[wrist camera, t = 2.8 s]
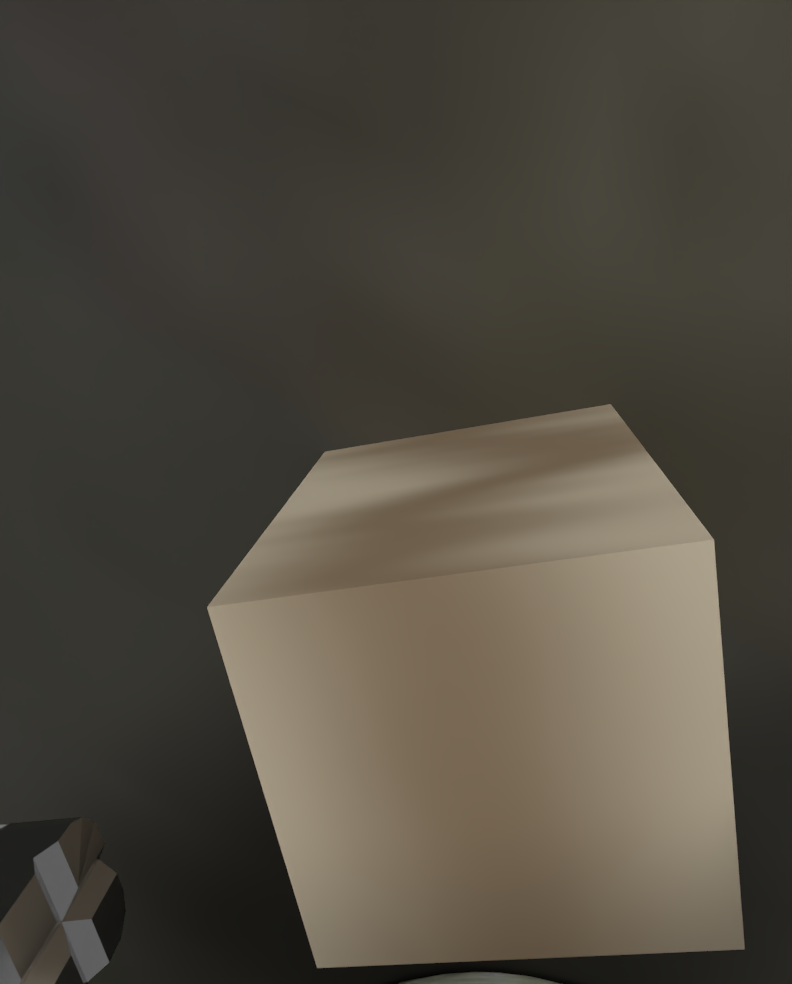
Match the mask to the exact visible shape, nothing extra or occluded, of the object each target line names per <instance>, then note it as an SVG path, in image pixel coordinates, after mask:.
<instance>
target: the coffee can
mask: <svg viewBox="0 0 792 984" xmlns="http://www.w3.org/2000/svg"><path fill="white" fill-rule="evenodd" d="M399 984H561V983H557V982H553V981H549V980H544V979H540V978H535V977H530V976H525V975H515V974H507V973H500V972H466V973H448V974H441V975H436V976H430V977H425V978H418V979H412V980H407V981H404V982H401V983H399Z"/></svg>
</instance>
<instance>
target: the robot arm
mask: <svg viewBox="0 0 792 984" xmlns="http://www.w3.org/2000/svg"><path fill="white" fill-rule="evenodd" d="M104 845H105V843H104V840H103V838H102V836H101V834H100V832H99V830H98V827H97V825H96V823H95V821H92V820H89V819H86V818H83V817H77V818H66V819H55V820H43V821H32V822H21V823H10V824H8V825H0V984H88V983H87V982H88V981H89V980H90V979H91V978H92V977H94V976H95V975H96V974H97V973H98V972H99V971H100V970H101V969H102V968H104V967H105V966H106V965H107V964H108V963H109V962H110V960H111V958H112V956H113V954H114V952H115V950H116V947H117V945H118V943H119V941H120V939H121V934H122V929H123V923H124V917H125V912H126V910H125V901H124V892H123V888H122V886H121V883H120V880H119V878H118V875H117V873H116V872H114V871H113V870H112V869H111V868H109V867H108V866H107V865H105V864H104V863H103V862H102V861H100V860H99V859H100V856H101V853H102V850H103V848H104Z"/></svg>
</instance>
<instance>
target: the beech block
mask: <svg viewBox="0 0 792 984" xmlns="http://www.w3.org/2000/svg"><path fill="white" fill-rule="evenodd" d="M207 609H208V612H209V615H210V618H211V622H212V625H213V628H214V632H215V635H216V638H217V641H218V645H219V648H220V651H221V654H222V658H223V661H224V664H225V668H226V671H227V674H228V677H229V681H230V684H231V687H232V691H233V694H234V697H235V700H236V704H237V707H238V710H239V714H240V717H241V720H242V723H243V727H244V730H245V733H246V736H247V740H248V743H249V746H250V750H251V753H252V756H253V759H254V763H255V766H256V769H257V773H258V776H259V779H260V782H261V786H262V789H263V792H264V796H265V799H266V802H267V805H268V809H269V812H270V815H271V818H272V822H273V825H274V828H275V832H276V835H277V838H278V841H279V845H280V848H281V851H282V855H283V858H284V861H285V864H286V868H287V871H288V874H289V878H290V881H291V884H292V887H293V891H294V894H295V897H296V900H297V904H298V907H299V910H300V914H301V917H302V920H303V923H304V927H305V930H306V933H307V937H308V940H309V943H310V946H311V950H312V953H313V956H314V960H315V963H316V966H317V968H332V967H354V966H377V965H400V964H423V963H446V962H469V961H492V960H514V959H537V958H560V957H583V956H606V955H629V954H652V953H675V952H697V951H720V950H743V949H745V946H744V933H743V919H742V906H741V893H740V880H739V866H738V853H737V840H736V826H735V813H734V800H733V787H732V773H731V760H730V747H729V734H728V720H727V707H726V694H725V681H724V667H723V654H722V641H721V628H720V614H719V601H718V588H717V575H716V561H715V548H714V539H713V538H712V536H711V535H710V534H709V533H708V531H707V530H706V529H705V527H704V526H703V525H702V523H701V522H700V521H699V519H698V518H697V517H696V515H695V514H694V513H693V512H692V510H691V509H690V508H689V506H688V505H687V504H686V502H685V501H684V500H683V498H682V497H681V496H680V494H679V493H678V492H677V491H676V489H675V488H674V487H673V485H672V484H671V483H670V481H669V480H668V479H667V477H666V476H665V475H664V474H663V472H662V471H661V470H660V468H659V467H658V466H657V464H656V463H655V462H654V460H653V459H652V458H651V456H650V455H649V454H648V453H647V451H646V450H645V449H644V447H643V446H642V445H641V443H640V442H639V441H638V439H637V438H636V437H635V435H634V434H633V433H632V432H631V430H630V429H629V428H628V426H627V425H626V424H625V422H624V421H623V420H622V418H621V417H620V416H619V414H618V413H617V412H616V411H615V409H614V408H613V407H612V405H611V404H609V405H603V406H597V407H591V408H585V409H579V410H573V411H567V412H561V413H555V414H549V415H543V416H537V417H531V418H525V419H519V420H513V421H507V422H501V423H495V424H489V425H483V426H477V427H471V428H465V429H459V430H453V431H447V432H441V433H435V434H429V435H423V436H417V437H411V438H405V439H399V440H393V441H387V442H381V443H375V444H369V445H363V446H357V447H351V448H345V449H339V450H333V451H327V452H324V454H323V455H322V456H321V458H320V459H319V460H318V462H317V463H316V464H315V466H314V467H313V468H312V469H311V471H310V472H309V473H308V475H307V476H306V477H305V479H304V480H303V481H302V483H301V484H300V485H299V487H298V488H297V489H296V491H295V492H294V493H293V495H292V496H291V497H290V498H289V500H288V501H287V502H286V504H285V505H284V506H283V508H282V509H281V510H280V512H279V513H278V514H277V516H276V517H275V518H274V520H273V521H272V522H271V524H270V525H269V526H268V528H267V529H266V530H265V531H264V533H263V534H262V535H261V537H260V538H259V539H258V541H257V542H256V543H255V545H254V546H253V547H252V549H251V550H250V551H249V553H248V554H247V555H246V557H245V558H244V559H243V560H242V562H241V563H240V564H239V566H238V567H237V568H236V570H235V571H234V572H233V574H232V575H231V576H230V578H229V579H228V580H227V582H226V583H225V584H224V586H223V587H222V588H221V590H220V591H219V592H218V593H217V595H216V596H215V597H214V599H213V600H212V601H211V603H210V604H209V605H208V607H207Z"/></svg>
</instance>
